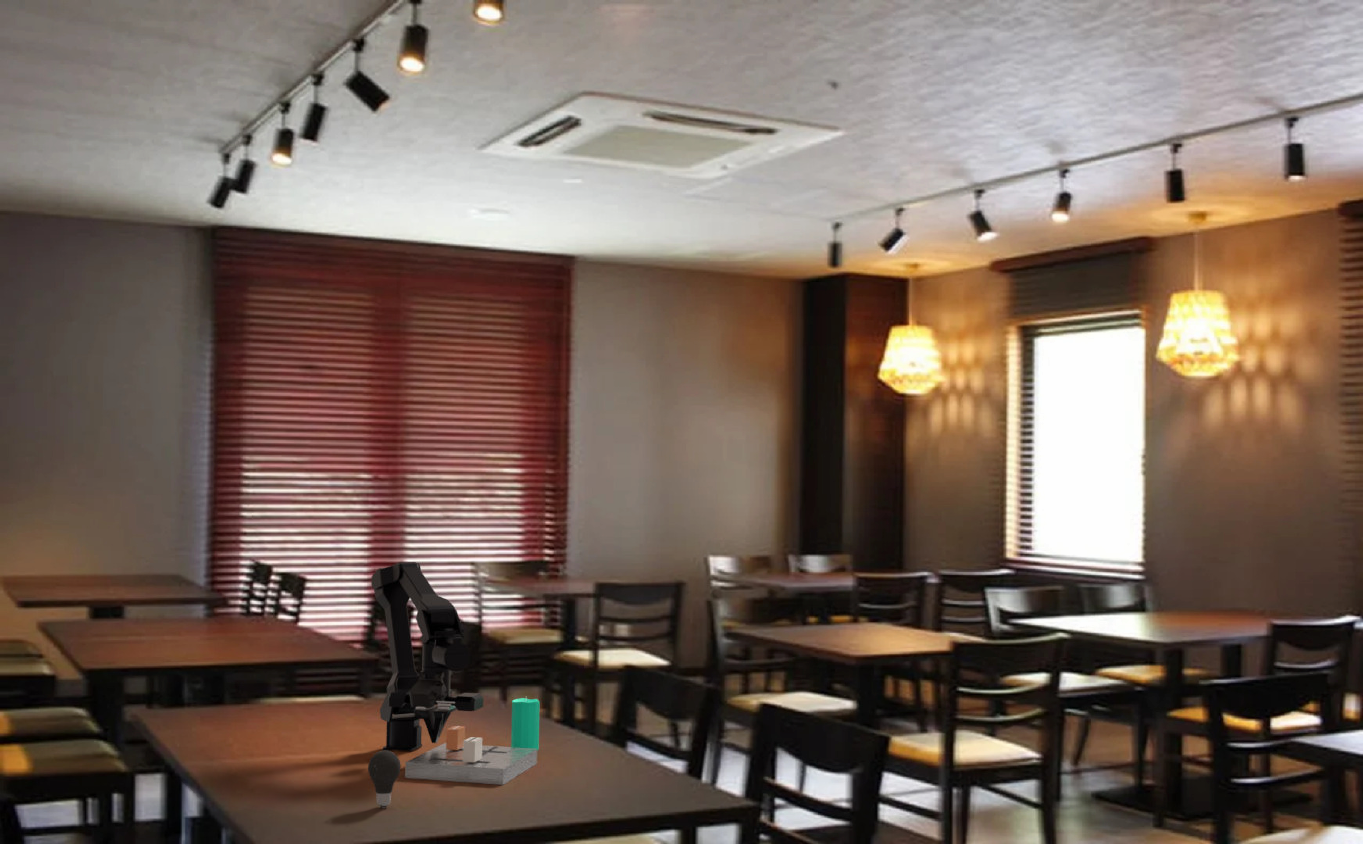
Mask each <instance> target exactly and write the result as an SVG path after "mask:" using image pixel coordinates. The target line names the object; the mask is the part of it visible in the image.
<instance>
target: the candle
mask: <svg viewBox="0 0 1363 844" xmlns="http://www.w3.org/2000/svg"><path fill="white" fill-rule="evenodd" d="M510 736H511V739H510V747H516V748H532V749H537V752H538V751H539V747H540V746H539V745H540V743H539V742H540V740H539V739H540V700H539V699H537V698H533V699H530V698H526V697H525V698H524V697H522V698H521V697H520V698H516V699H513V700H512V701H511V735H510Z"/></svg>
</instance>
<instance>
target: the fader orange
mask: <svg viewBox="0 0 1363 844" xmlns="http://www.w3.org/2000/svg"><path fill="white" fill-rule="evenodd" d="M445 736H446V741H445V743H446V749H448V750H459V749H461V748H462V747H463V741H464V740H466V726H462V725H453V726H451V727H449V728H447V729H446V735H445Z"/></svg>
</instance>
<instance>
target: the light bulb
mask: <svg viewBox="0 0 1363 844" xmlns="http://www.w3.org/2000/svg"><path fill="white" fill-rule="evenodd" d="M367 769H368V774H369V777H370V779H371V781H372V783H373V785H374V790H375V793H376V798H375V799H376V800H375V801H376V805H377V806H379V807H380V808H381V807H382V808H381V809H386V808H387V806H389V805H390V804H391V801H392V799H391V797H392V792H393V787H394V784H395V783H396V782H397V781H396V780H397V779H398V777H399V775H400V772H401V761H400V758H399V757H398V756H397V754H395V752H393V751H392V750H380V751H377V752H375V753H374V754H373V755H372V756H371V758H370V760H369V762H368V765H367ZM385 807H386V808H385Z"/></svg>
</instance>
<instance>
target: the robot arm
mask: <svg viewBox="0 0 1363 844" xmlns="http://www.w3.org/2000/svg"><path fill="white" fill-rule="evenodd" d="M370 580H371V587H372V589H373V592H374V597H375V600H376V601H377V602H378V604H379V605H380V606H381V607H382V608H383V610H384V613H385V624H386V632H387V639H388V640H387V641H388V648H389V649H388V650H389V655H390V663H391V673H392V676H391V678H390V680H389V682H388V684H387V686H386V695H385V697H384V700H383V702H382V704H381V707H380V708H379V713H380V719H381V720H382V721H384V722H386V732H385V733H386V737H385V738H386V740H385V744H386V745H385V746H382V751H384V750H387V751H399V752H400V751H401V752H412V751H414V750H417V749H419V748H421V747H422V746H423V743H422V734H423V733H422V730H423V729H422V728H423V727H422V726H421V725H420V724H421V721H420V720H423V721H424V723H425V724H424V725H425V727H426V729H427V732H428V735H429V738H430V739H429V740H430V741H431V743H432V744H437V743H438V742H439V740H440V737H441V734H442V732H443V730H444V728H445V725H446V722H448V719H449V717H450V716H451V713H452V712H455V711H457V710H458V711H461V712H475V711H478V710H480V709H482V708H484V697H483V695H482V694H481V693H475V692H463V693H461V694H459V695H457V696H452V695H453V689H451V675H453V674H454V673H460V672H462V671H464V670H465V669H466V668H467V667H468V666H469V664H470V661H471V656H472V655H471V652H470V649H469V647H467V646H466V644H464V643H462V642H463V641H462V640H463V639H464V636H465V635H464V627H463V625H462V622H461V619H460V617H459V613H458V610H457V609H456V607H455V606H454V604H452V602H450V600H449V599H447V598H445V597H442V596H439V595H438V594H437V593H436V591H435V590H434V589H433V587H432V586H431V583H430V582H429V581H428V580H427V578H426V577H425V575H424V573H423V571H422V568H421V565H420V563H419V562H416V561H406V562H405V561H402V562H401V561H400V562H396V563H394V564H393V565H391V566H386V567H379V568H377V569H376V571H375V572H374V573H373V574H372V576H371V579H370ZM410 600H411V602H412V604H413V605H414V607H415V609H416V610H417V612H416V616H415V621H416V623H417V626H418V628H419V630H420V632H421V634H422V635H421V637H420V639H419V640H420V641H421V642H422V656H421V657H422V658H421V661H422V662H421V663H422V664H421V671H419V672H417V670H416V667H415V660H414V659H415V658H414V657H415V656H414V652H413V651H414V650H413V645H412V644H413V643H412V636H411V628H410V620H409V613H408V612H409V611H408V603H409V601H410ZM453 672H454V673H453Z"/></svg>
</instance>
